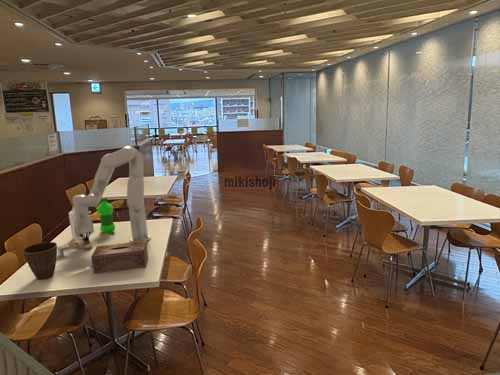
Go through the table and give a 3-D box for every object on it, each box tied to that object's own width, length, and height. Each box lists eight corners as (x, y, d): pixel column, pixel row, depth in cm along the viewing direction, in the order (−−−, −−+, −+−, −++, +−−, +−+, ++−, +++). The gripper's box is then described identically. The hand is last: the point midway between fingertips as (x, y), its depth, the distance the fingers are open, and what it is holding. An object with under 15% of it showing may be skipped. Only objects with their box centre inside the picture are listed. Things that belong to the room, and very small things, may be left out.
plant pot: (66, 275, 188) (61, 245, 184) (34, 286, 177) (29, 255, 174) (55, 268, 198) (50, 240, 194) (24, 278, 187) (18, 248, 184)
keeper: (71, 256, 213) (70, 246, 212) (61, 259, 209) (59, 249, 208) (69, 254, 217) (67, 244, 215) (58, 257, 213) (57, 246, 212)
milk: (76, 242, 237) (71, 209, 232) (72, 240, 241) (67, 208, 236) (86, 240, 241) (80, 207, 236) (82, 238, 245) (77, 206, 240)
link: (94, 247, 222) (93, 240, 221) (86, 250, 218) (85, 243, 217) (78, 243, 230) (77, 237, 229) (71, 246, 226) (69, 239, 225)
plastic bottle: (97, 235, 249) (92, 199, 244) (107, 230, 259) (102, 195, 254) (109, 236, 246) (104, 199, 241) (119, 231, 256) (114, 196, 251)
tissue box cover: (93, 274, 188) (91, 256, 186) (99, 263, 202) (97, 246, 200) (145, 268, 192) (143, 250, 190) (148, 257, 206) (146, 240, 204)
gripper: (92, 211, 231) (96, 238, 235) (67, 217, 221) (72, 245, 225) (96, 213, 226) (101, 241, 230) (71, 219, 216) (76, 248, 220)
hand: (86, 243), depth 227 cm, fingers closed
